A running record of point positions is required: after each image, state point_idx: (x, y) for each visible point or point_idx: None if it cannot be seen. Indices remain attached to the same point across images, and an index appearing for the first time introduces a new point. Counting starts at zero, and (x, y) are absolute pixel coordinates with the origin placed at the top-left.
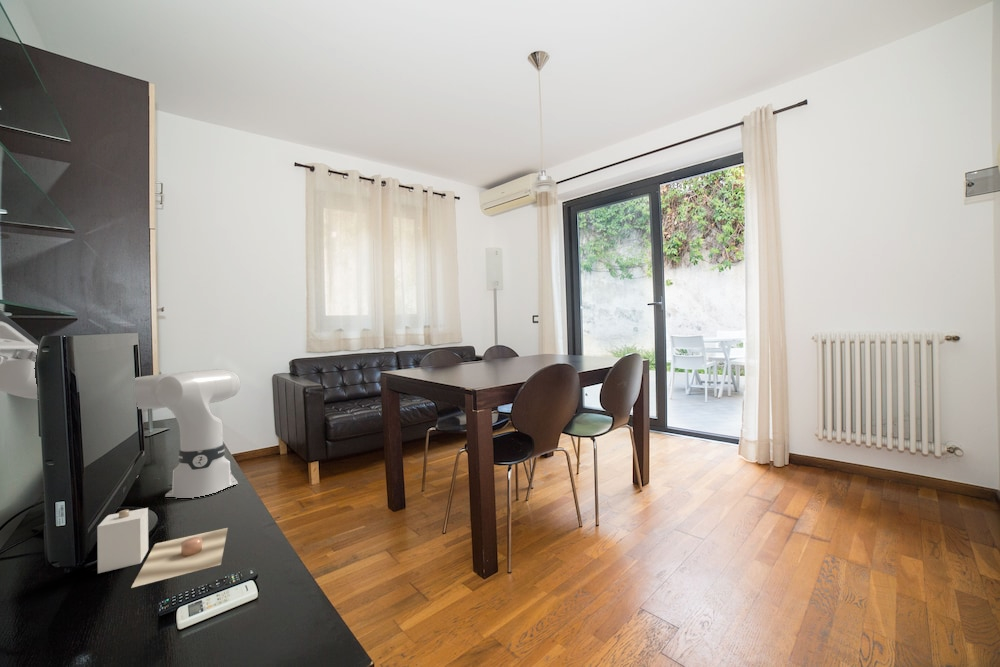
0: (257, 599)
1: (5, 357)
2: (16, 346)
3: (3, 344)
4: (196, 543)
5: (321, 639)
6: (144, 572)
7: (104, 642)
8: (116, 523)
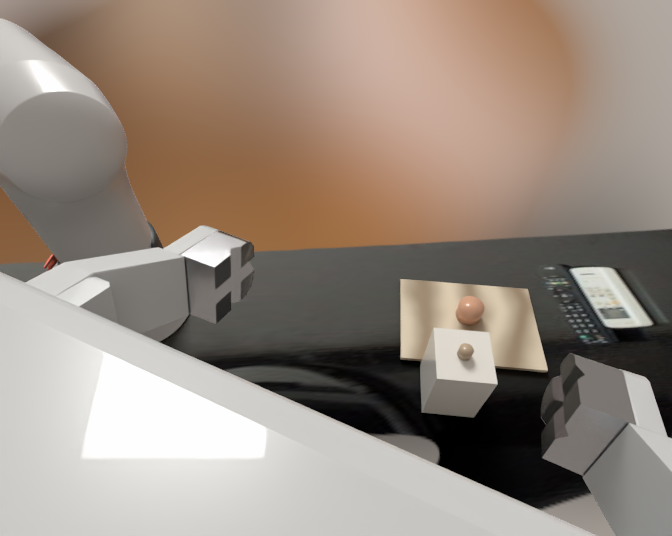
0: (617, 268)
1: (594, 362)
2: (129, 330)
3: (118, 431)
4: (481, 302)
5: None
6: (505, 361)
7: (658, 383)
8: (493, 361)
